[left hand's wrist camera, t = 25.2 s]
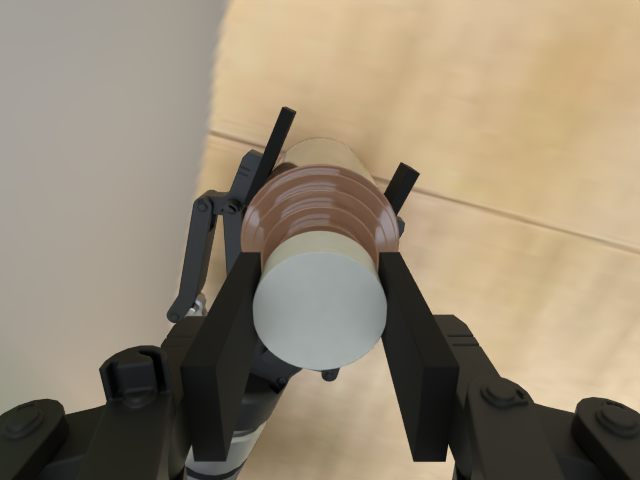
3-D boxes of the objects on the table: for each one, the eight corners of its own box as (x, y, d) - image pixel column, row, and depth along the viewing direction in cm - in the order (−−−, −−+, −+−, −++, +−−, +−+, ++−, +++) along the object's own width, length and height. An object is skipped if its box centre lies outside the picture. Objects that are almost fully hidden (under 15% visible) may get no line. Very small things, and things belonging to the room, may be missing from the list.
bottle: (336, 245, 34) (358, 422, 15) (257, 203, 32) (172, 341, 14) (384, 167, 31) (479, 264, 13) (300, 119, 30) (269, 147, 11)
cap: (321, 355, 16) (321, 391, 14) (237, 287, 15) (224, 316, 13) (402, 284, 14) (415, 313, 13) (318, 205, 13) (318, 223, 11)
